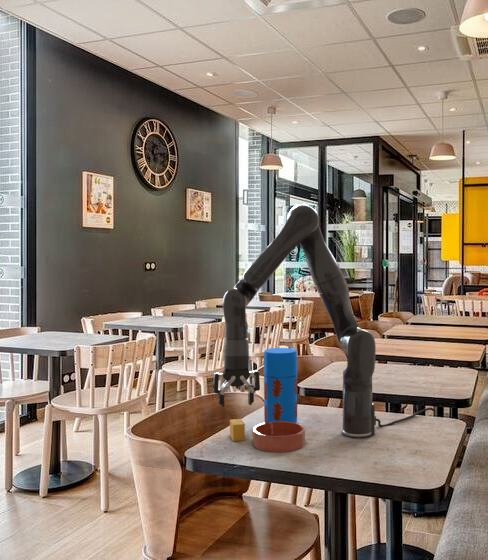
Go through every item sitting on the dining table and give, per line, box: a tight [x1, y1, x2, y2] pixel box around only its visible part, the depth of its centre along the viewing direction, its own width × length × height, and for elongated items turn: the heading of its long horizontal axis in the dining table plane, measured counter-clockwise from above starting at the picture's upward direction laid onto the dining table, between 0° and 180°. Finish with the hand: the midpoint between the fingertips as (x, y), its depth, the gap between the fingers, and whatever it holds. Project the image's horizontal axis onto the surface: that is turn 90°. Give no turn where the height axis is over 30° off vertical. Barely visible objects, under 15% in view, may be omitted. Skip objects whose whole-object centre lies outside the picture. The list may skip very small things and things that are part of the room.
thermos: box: [263, 347, 298, 423], centre depth 197 cm, size 11×11×25 cm
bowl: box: [252, 421, 306, 453], centre depth 180 cm, size 15×15×4 cm
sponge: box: [229, 418, 246, 442], centre depth 186 cm, size 4×6×5 cm, turn 16°
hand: (236, 405), depth 185 cm, fingers open, 8 cm apart
